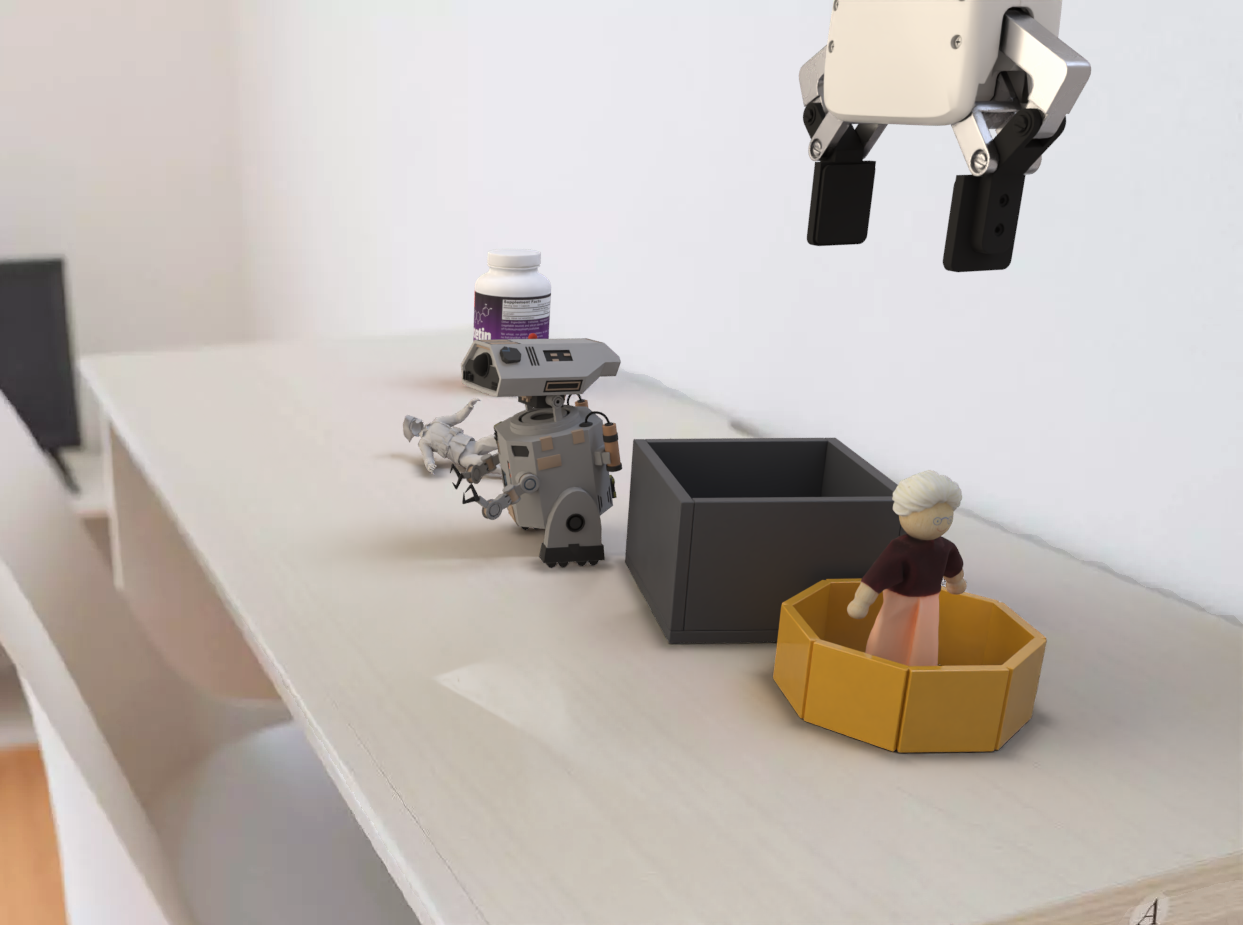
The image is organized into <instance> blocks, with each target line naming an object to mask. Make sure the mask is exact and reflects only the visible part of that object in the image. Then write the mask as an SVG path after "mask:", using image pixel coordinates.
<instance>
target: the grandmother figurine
mask: <svg viewBox="0 0 1243 925" xmlns="http://www.w3.org/2000/svg"><path fill="white" fill-rule="evenodd" d="M897 485H898V486H897V487H896V489H895V491H894V492H893V498H892V500H893V501H894V504H893V510H894V512H895V513H896V514H898V515H899V520H900V524H901V526H902V527H903V529H904V530H905V531H906V533H907V534H904V535H901V536H899V537H897V538H895V539H893V540H891V542H890V543H889V545H888V546H887V547H886V548H885V549H884V551H883V552H882V553H881V554H880V556H879V557H878V558H877V560H876V561H875V562H874V563H873V565H872V566H871V567H870V569H869V570H868V571H867V573H866V574H865V575H864V576H863V578H862V579H861V584H860V586H859V587H858V589H857V591H856V593H855V598H854V600H853V601H851V602H850V603H849V605H848V607H847V612H848V614H849V616H851V617H852V618H854V619H862V618H864V617H865V616H866V615H867V613H868V610H869V606H870V605H872V604H873V603H874V602H875V600H876V598H877V597H878V595H879V594H880V593H881V592H882V591H883V599H884V602H883V605H882V607H881V609H880V612H879V614H878V616H877V618H876V621H875V624H874V626H873V628H872V630H871V633H870V635H869V638H868V641H867V646H866V652H865V653H867V654H871V655H874V656H877V657H881V658H884V659H887V660H891V661H894V662H897V663H901V664H904V665H907V666H939V665H938V626H939V594H940V591H941V588H942V587H941V586H942V584H943V580H944V581H945V587H946V589H947V591H948V592H949V593H951V594H954V595H959V594H962V593H963V592H966V590H967V587H968V584H967V581H966V580H965V578H964V576H965V572H964V559H963V557H962V554H961V553H960V550H959V549H958V546H957V545H956V543H954V542H953V541H951V540H950V539H948V538H946V537H944V535H945V534H946V533H947V532H948V531H949V530H950V528H951V526H952V525H953V521H954V516H955V515H954V512H955V511H956V510H957V509H958V508H959V507H961V502H962V500H963V493H962V489H961V488H960V485H959V483H958V482H956V481H953V479H951V477H949V476H948V475H945V474H940V473H938V471H935V470H932V469H927V470H923V471H921V472H918V473H915V474H913V475H910V476H909V477H906V478H904V479H902V480H900V481H899V482H898V484H897Z"/></svg>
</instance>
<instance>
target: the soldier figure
mask: <svg viewBox="0 0 1243 925" xmlns="http://www.w3.org/2000/svg"><path fill="white" fill-rule="evenodd" d="M481 401H482V400H481V399H480V398H477V397H475V398H472V399H470V401H468V403H466V405H464V407H463V408H462V409H460V410H458V411H457V412H456V413H453V414H451V415H444V416H439V417H435V418H434V419H433V420H432V421H431V422H428V423H426V424H425V423H424V421H423V419H422V418H418V417H417V416H413V415H410V414H406V415H405V416H404V419H403V421H402V422H403V423H402V433H403V434H402V435H403V436H404V438H405V439H406V440H407V441H408V443H411V441H412V439H413V438H414V437H415V438H419V437H420V439H419V441H418V442H417V447H418V448H419V451H420V453H421V456H422V459H423V464H424V466H425V469H426V471H428V472H429V473H430V474H431V475H434V476H435V474H436V473H434V471H435V470H436V467H438V466H437V464H436V461H435V455H434V453H437V455H438V456H440V457H442V458H443V459H444V460H445V459H448V460H450V461H451V462H452V463H455V464H456V465H457V466H459V467H462V468H465V469H466V468H467V466H468V465H470V464H472V465H476V464H477V463H478V462H482V461H481V459H480V458H481V457H482V456H483V455H485V454H490V453H491V452H493V451H498V448H497V444H496V440H495V439H494V436H495V435H494V433H493V434H490V435H487V436H484V437H481V438H479V439H478V440H476V439H475V438H474V437H473V436H470V435H468V434H465V433H464V432H465V431H464V429H462V428H460V427H457V426H456V425H458V424H461V423H463V422H464V421H465V420H466V419H467V418H468V417H469V415H470V414H471V413H472V411H473V410H474V408H475V405H476V404H477V402H481ZM495 437H496V436H495ZM496 467H497V469H496V470H494V471H493V472H490V473H487V474H486V475H488V474H497V475H502V473H501V467H500V464H498V465H496Z"/></svg>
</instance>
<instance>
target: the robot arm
mask: <svg viewBox="0 0 1243 925" xmlns="http://www.w3.org/2000/svg"><path fill="white" fill-rule="evenodd" d="M1062 6H1063V0H833V1H832V8H831V14H830V15H831V16H830V21H829V27H828V33H827V34H828V36H827V43H826V45H824V46H823V47H822V48H821V49H820V50H819V51H818V52H816V53H815V54H814V55H813V56H812V57H811V58H809V59H808V60H807V61H805V62H804V64H802V65H801V67H800V68H799V73H798V82H799V87H800V93H801V98H802V103H803V107H804V109H803V112H802V122H803V125H804V127H805V129H806V132H807V134H808V136H809V139H810V140H809V143H808V148H807V149H808V150H807V152H808V157H809V159H810V160H811V161H812V162H814V167H813V175H812V186H811V195H810V201H809V202H810V204H809V213H808V222H807V231H806V242H807V243H808V244H809V245H811V246H816V247H828V246H852V245H861V244H864V242H865V241H866V240H867V238H868V233H869V225H870V217H871V209H872V203H873V202H872V201H873V194H874V185H875V177H876V170H877V169H876V168H877V167H876V165H877V160H870V159H869V160H865V159H866V158H867V156H869V153H870V152H871V151H872V150H873V148H874V146H875V144H876V143H877V142H878V140H879V139H880V137H881V136H882V134H883V132H884V131H885V130H886V129H887V127H888V125H900V126H902V125H905V126H923V127H925V126H926V127H927V126H928V127H929V126H930V127H942V126H951V129H952V131H953V134H954V136H955V139H956V141H957V143H958V146H959V148H960V151H961V153H962V156H963V158H964V161H965V163H966V166H967V168H968V171H969V172H970V174H956V175H955V181H954V183H953V187H952V195H951V202H950V206H949V208H950V210H949V214H948V222H947V227H946V228H947V229H946V236H945V242H944V248H943V256H942V266H943V267H944V270H946V271H947V272H952V273H953V272H954V273H968V272H969V273H971V272H972V273H973V272H988V271H1004V270H1007V268H1009V267H1010V265H1011V263H1012V260H1013V254H1014V248H1015V242H1016V235H1017V230H1018V223H1019V217H1020V211H1021V205H1022V198H1023V194H1024V189H1025V188H1024V187H1025V182H1026V181H1025V180H1026V176H1029V175H1033V174H1035V173H1036V172H1037V171H1038V170H1039V169H1040V168H1041V167H1040V166H1041V165H1042V160H1043V154H1044V153H1045V152H1046V151H1047V150H1048V149H1049V148H1050V147H1051V146H1052V145H1053V144H1054V143H1055V142H1056V140H1057V139H1058V138H1059V137H1060V136H1061V135H1062V134H1063V133H1064V131H1065V128H1066V126H1067V115H1069V114H1070V113H1071V111H1072V110H1073V108H1074V106H1075V104H1076V103H1077V102H1078V99H1079V98H1080V96H1081V94H1082V92H1083V90H1084V88H1085V87H1086V85H1087V83H1088V82H1089V80H1090V77H1091V74H1092V66H1091V63H1090V62H1089V60H1087V59H1086V58H1085V57H1084V56H1082V55H1081V54H1080V53H1078V52H1077V51H1076V50H1075V49H1074V48H1072V47H1071V46H1069V45H1068V44H1067V43H1066V42H1064V41H1063V40H1062V39H1060V38H1059V34H1060V27H1061V26H1060V25H1061V19H1062V18H1061V17H1062V8H1063V7H1062ZM854 125H856V127H854ZM990 130H994V131H995V133H996V135H995V136H994V137H993V135H992V134H991V131H990Z"/></svg>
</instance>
